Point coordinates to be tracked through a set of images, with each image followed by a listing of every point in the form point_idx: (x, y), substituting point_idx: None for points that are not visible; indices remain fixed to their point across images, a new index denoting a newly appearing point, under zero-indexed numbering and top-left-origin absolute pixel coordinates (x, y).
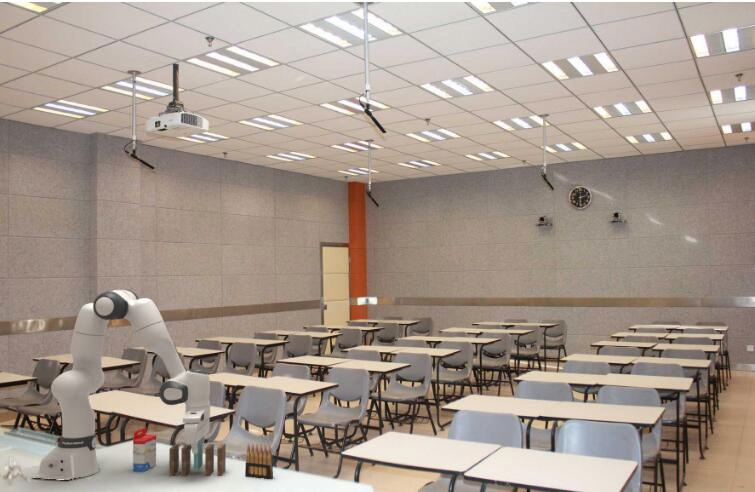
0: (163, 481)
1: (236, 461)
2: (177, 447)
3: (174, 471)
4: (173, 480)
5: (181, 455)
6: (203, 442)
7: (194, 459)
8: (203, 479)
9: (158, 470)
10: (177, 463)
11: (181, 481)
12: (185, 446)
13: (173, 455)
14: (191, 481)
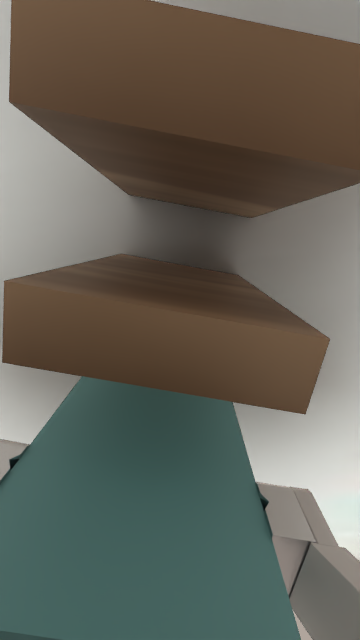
0: (14, 128)
1: (350, 551)
2: (268, 165)
3: (142, 193)
4: (32, 207)
5: (58, 269)
6: (298, 602)
7: (67, 401)
8: (36, 401)
9: (322, 21)
10: (226, 203)
11: (6, 269)
12: (163, 340)
13: (66, 143)
14: (2, 335)
